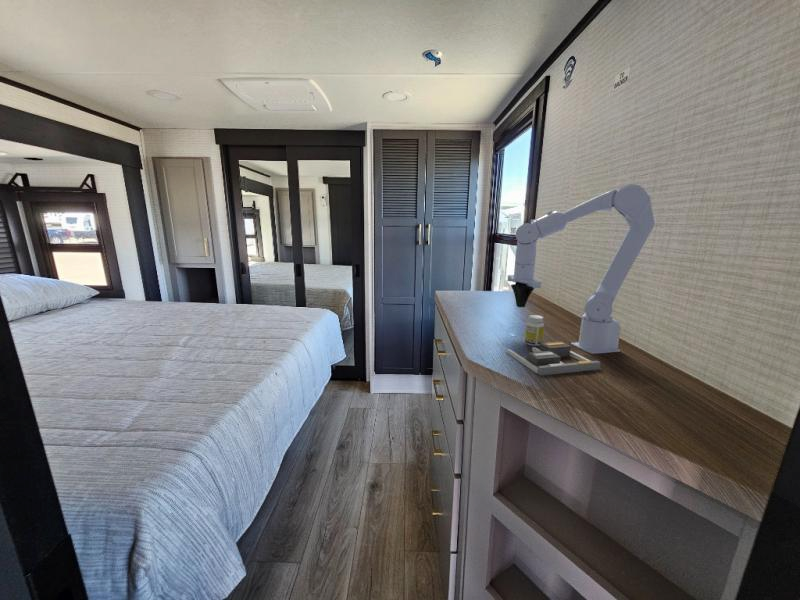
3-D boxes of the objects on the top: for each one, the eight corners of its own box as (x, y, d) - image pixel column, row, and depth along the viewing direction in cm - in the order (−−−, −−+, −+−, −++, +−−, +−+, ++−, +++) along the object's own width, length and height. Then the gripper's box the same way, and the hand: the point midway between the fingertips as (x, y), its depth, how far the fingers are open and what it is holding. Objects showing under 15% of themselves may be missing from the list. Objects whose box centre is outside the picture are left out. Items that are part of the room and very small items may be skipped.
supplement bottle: (538, 341, 94) (541, 314, 92) (544, 346, 89) (547, 319, 88) (522, 340, 94) (525, 314, 93) (527, 346, 90) (530, 318, 88)
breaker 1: (548, 360, 79) (549, 349, 78) (559, 367, 75) (560, 355, 74) (526, 362, 77) (527, 351, 77) (536, 369, 74) (537, 358, 73)
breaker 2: (559, 350, 86) (560, 340, 85) (569, 356, 82) (571, 345, 81) (538, 352, 84) (540, 342, 84) (548, 357, 81) (549, 347, 80)
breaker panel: (558, 349, 88) (559, 341, 87) (599, 369, 74) (600, 361, 74) (506, 353, 84) (507, 345, 84) (539, 376, 71) (540, 367, 70)
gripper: (500, 262, 101) (497, 302, 103) (527, 266, 87) (523, 313, 90) (519, 261, 102) (516, 301, 105) (549, 266, 88) (544, 311, 91)
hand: (520, 306), depth 97 cm, fingers closed
